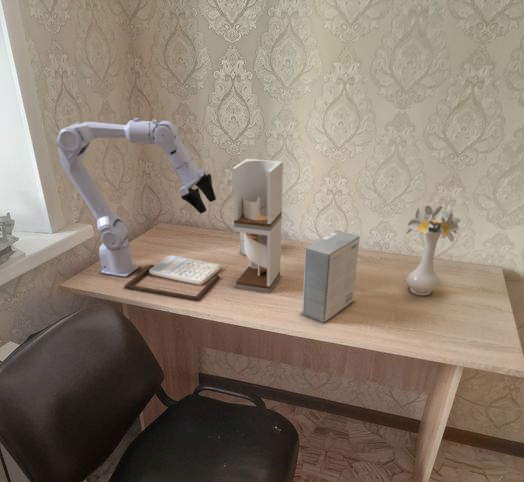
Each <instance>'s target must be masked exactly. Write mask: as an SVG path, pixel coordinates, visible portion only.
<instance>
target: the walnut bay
mask: <svg viewBox="0 0 524 482" xmlns="http://www.w3.org/2000/svg"><path fill="white" fill-rule="evenodd" d="M153 266H155V265H154V264H150V265H149V266H148V267H146V268H145V269H144V270H142V271H141V272H140V273H139V274H137V275H136V276H135V277H133V278H132V279H131V280H129V281H128V282H127V283H126V284H124V285H123V286H124V289H127V290H131V291H138V292H144V293H149V294H155V295H160V296H167V297H172V298H178V299H183V300H190V301H195V302H198V301H200V299H202V298H203V296H204V295H206V293H207V292H208V291H209V290H210V289H211V288H212V287H213V286H214V284H216V282H218V281H219V279H220V277H221V276H220V275H219V274H215V275H214V276H213V278H212V279H211V280H210V281H209V282H208V283H207V284H206V285H205V286H204V287H203V289H201V290H200V291H199V292H198V294H197V295H191V294H185V293H179V292H175V291H174V292H173V291H168V290H163V289H162V290H161V289H157V288H150V287H146V286H145V287H144V286H139V285H135V284H136V283H137V282H138V281H140V280H141V279H142V278H143V277H145V276H146V275H147V274H148V273H149V270H150V269H151V268H152V267H153Z"/></svg>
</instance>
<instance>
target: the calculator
mask: <svg viewBox="0 0 524 482" xmlns="http://www.w3.org/2000/svg"><path fill="white" fill-rule="evenodd" d="M221 267H222V266H221V264H219V263H215V262H214V263H213V262H208V261H203V260H198V259H193V258H189V257H188V258H187V257H183V256H177V255H168V256H167V257H165V258H164V259H162V260H160V261H159V262H158V263H156V264H155V265H154V266H153V267H152V268H151V269H150V270H149V272H148V273H149V274H150V275H151V276H155V277H161V278H165V279H169V280H173V281H174V280H175V281H179V282H184V283H188V284H192V285H196V286H197V285H198V286H201V285H202V286H203V285H204V284H205V283H207V281H209V280H210V279H211V278H212V277H214V276H216V275H217V273H218V272H219V271H221V270H222V268H221Z"/></svg>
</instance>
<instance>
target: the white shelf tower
mask: <svg viewBox="0 0 524 482" xmlns="http://www.w3.org/2000/svg"><path fill="white" fill-rule="evenodd" d="M283 170H284V161H281V160H267V159H258V158H257V159H254V158H253V159H252V158H246V159H244V160H242V161H241V162H239V163H238V164H236V165H235V166H234V167H232V168H231V172H232V202H233V230H234V233H240V232H242V233H244V251H245V254H246V255H245V256H246V257H247V258H248V259H249V260H250V266H249V265H248V266H247V268H246V269H245V270H244V271H243V272H242V274H240V276H239V278H237V280H236V281H235V283H236V288H237V289H244V290H251V291H256V292H262V293H263V292H264V293H271V291H272V290H273V288H274V287H275V286H276V283H278V281H279V279H280V278H281V262H282V261H281V260H282V259H281V258H282V255H281V254H282V216H283V173H284V172H283Z"/></svg>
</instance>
